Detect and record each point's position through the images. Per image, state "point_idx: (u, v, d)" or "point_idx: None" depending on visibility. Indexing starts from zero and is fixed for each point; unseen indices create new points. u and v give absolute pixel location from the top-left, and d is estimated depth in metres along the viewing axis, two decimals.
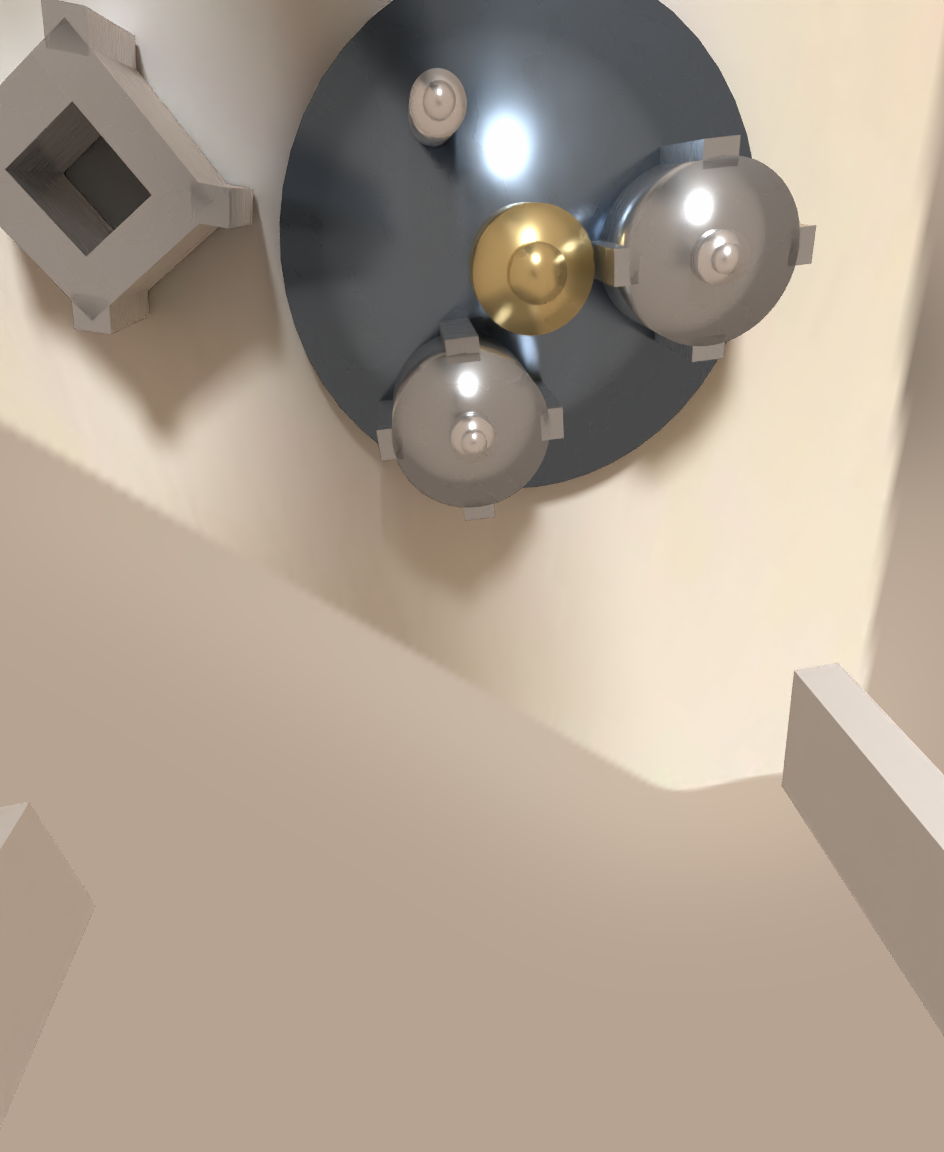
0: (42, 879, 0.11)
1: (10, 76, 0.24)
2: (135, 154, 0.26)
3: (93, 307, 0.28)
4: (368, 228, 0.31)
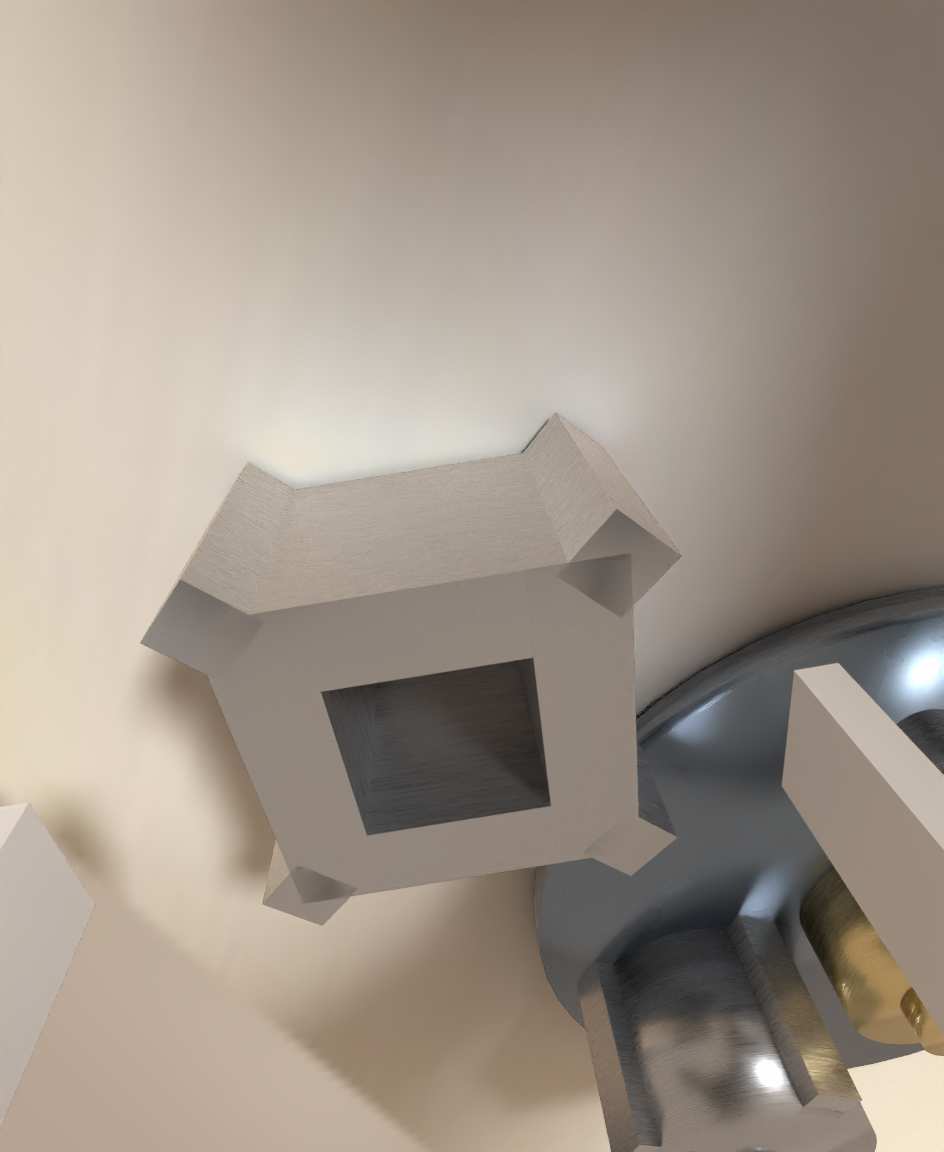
0: (42, 879, 0.11)
1: (452, 585, 0.11)
2: (573, 754, 0.13)
3: (321, 891, 0.14)
4: (742, 807, 0.19)
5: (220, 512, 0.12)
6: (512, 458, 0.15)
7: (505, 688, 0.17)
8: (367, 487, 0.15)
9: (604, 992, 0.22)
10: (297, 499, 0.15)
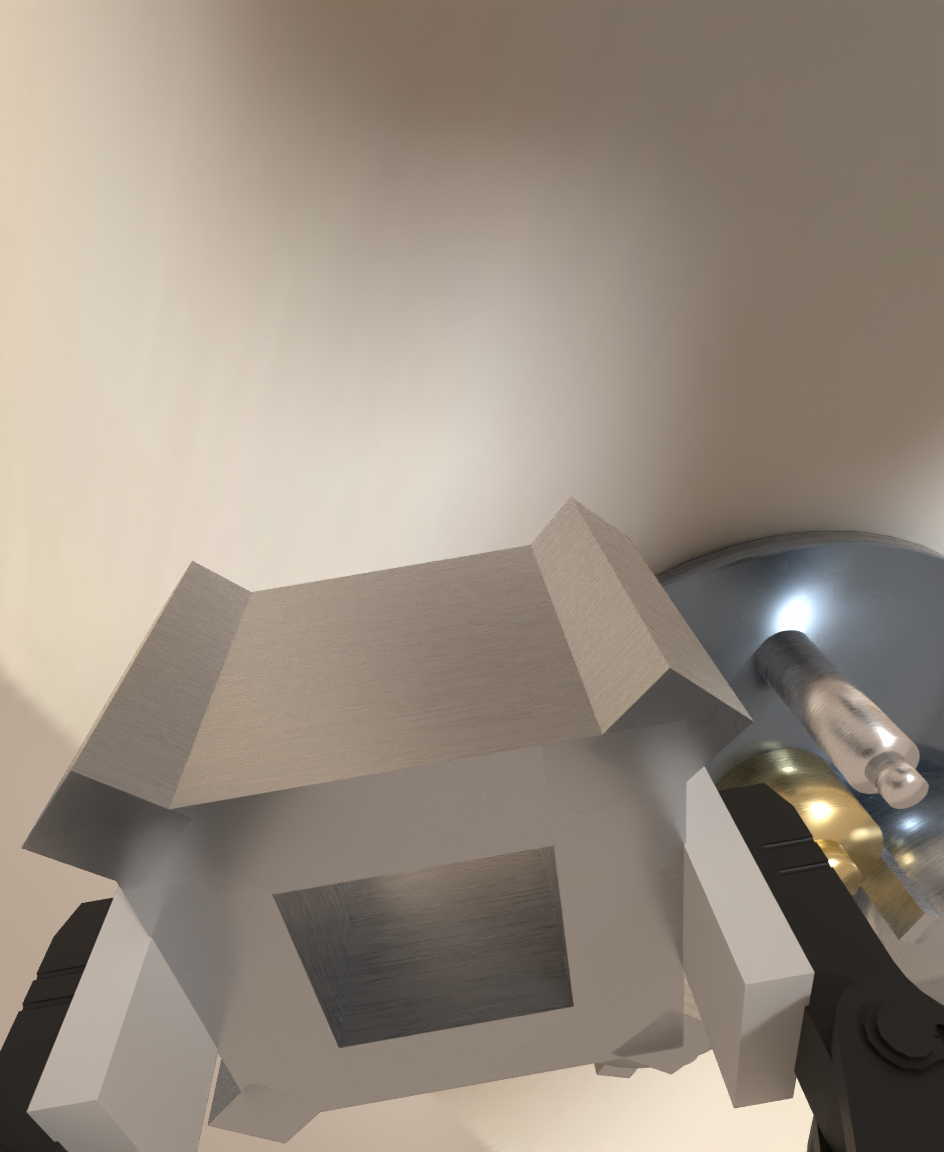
0: None
1: (447, 766, 0.08)
2: (604, 951, 0.10)
3: (282, 1108, 0.11)
4: None
5: (145, 645, 0.10)
6: (518, 553, 0.12)
7: None
8: (340, 591, 0.12)
9: None
10: (253, 608, 0.12)
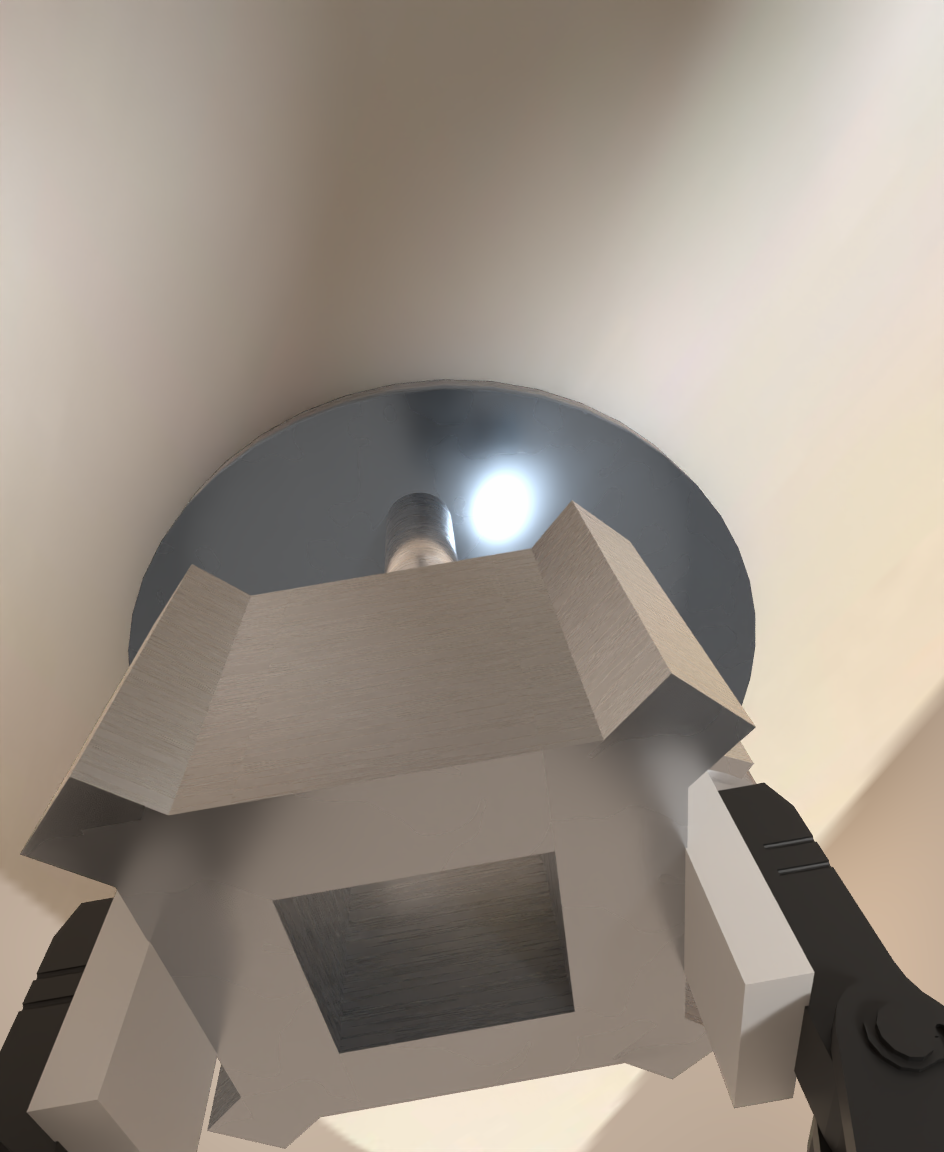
0: None
1: (447, 772, 0.08)
2: (605, 956, 0.10)
3: (282, 1113, 0.11)
4: None
5: (145, 649, 0.10)
6: (519, 556, 0.12)
7: None
8: (340, 595, 0.12)
9: None
10: (253, 611, 0.12)
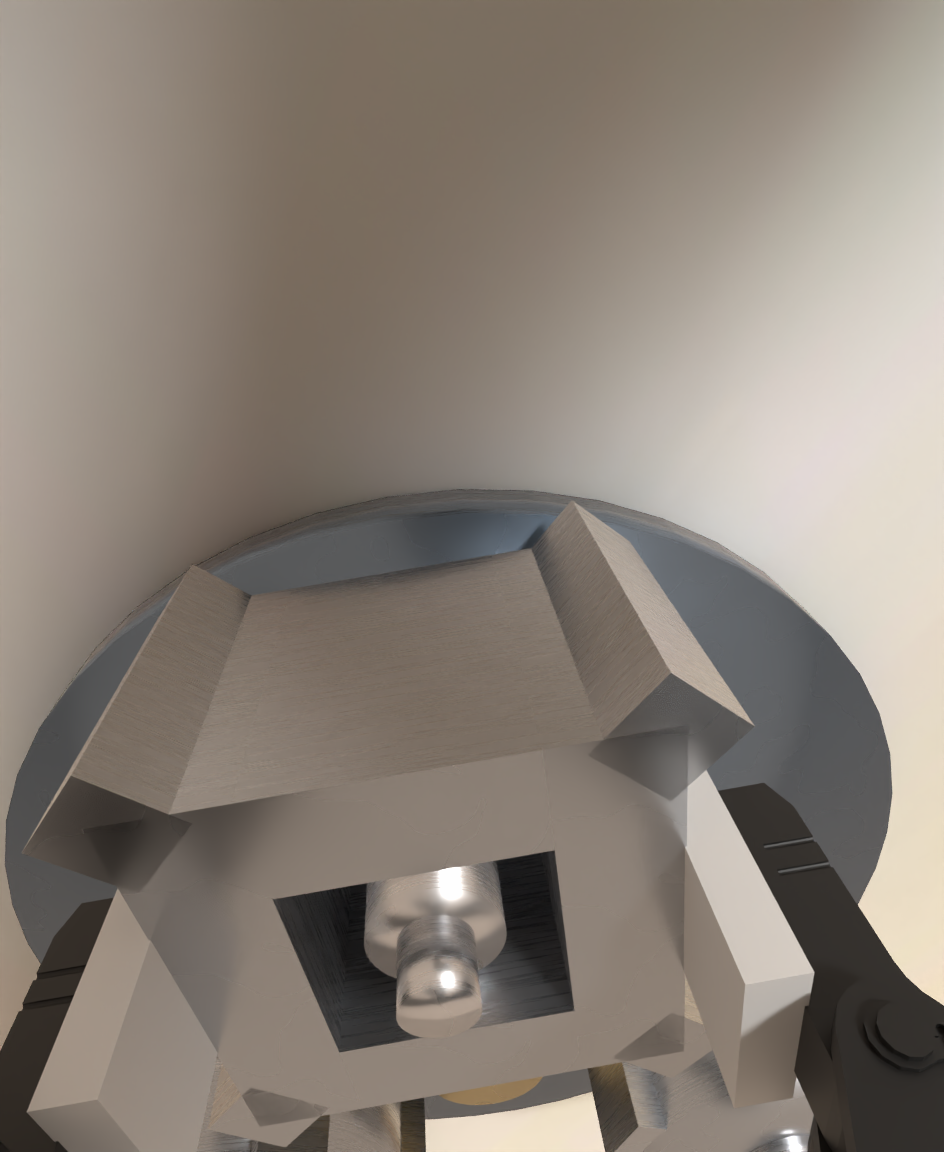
0: None
1: (447, 771, 0.08)
2: (604, 955, 0.10)
3: (282, 1112, 0.11)
4: None
5: (145, 649, 0.10)
6: (518, 556, 0.12)
7: None
8: (340, 595, 0.12)
9: None
10: (254, 611, 0.12)
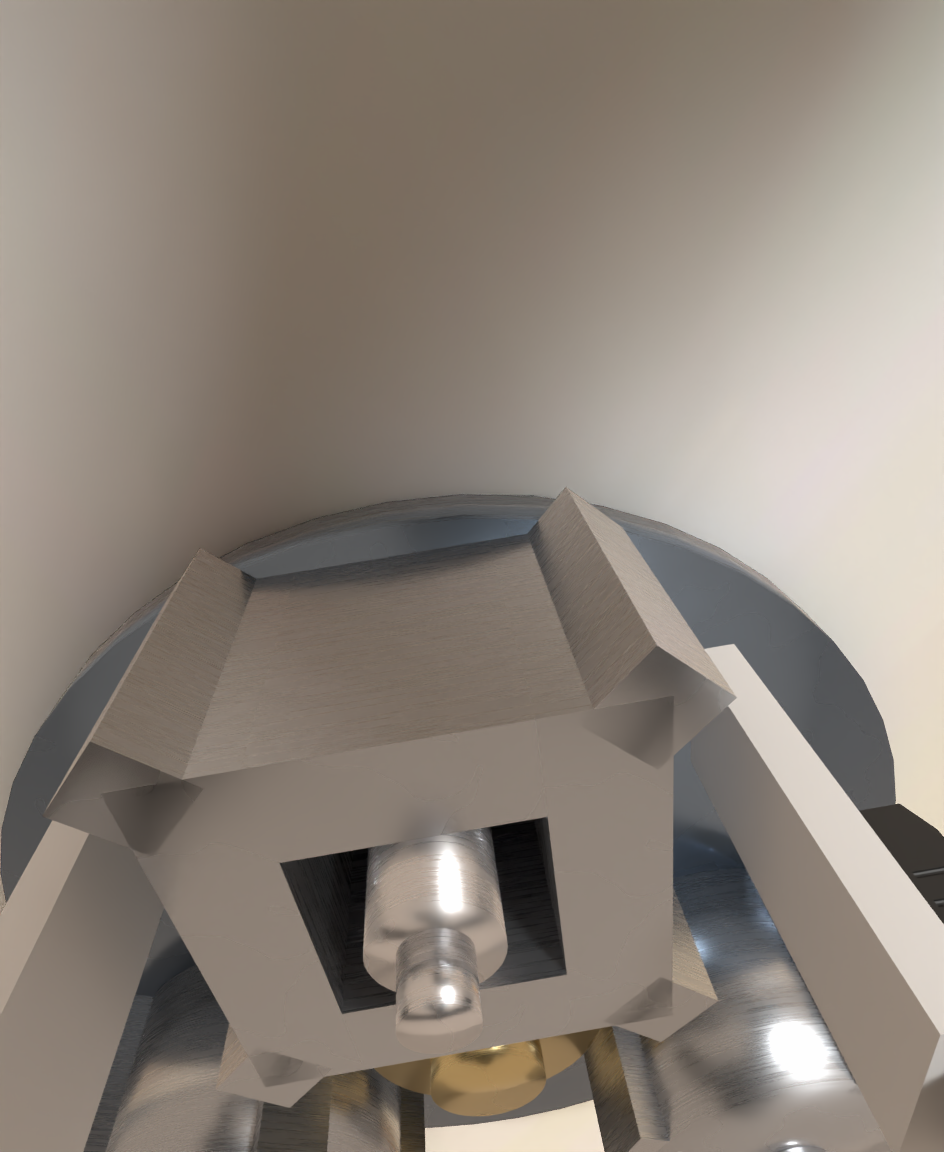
0: None
1: (445, 739, 0.08)
2: (595, 919, 0.10)
3: (287, 1073, 0.12)
4: None
5: (157, 626, 0.10)
6: (515, 541, 0.13)
7: None
8: (342, 578, 0.12)
9: None
10: (259, 593, 0.12)
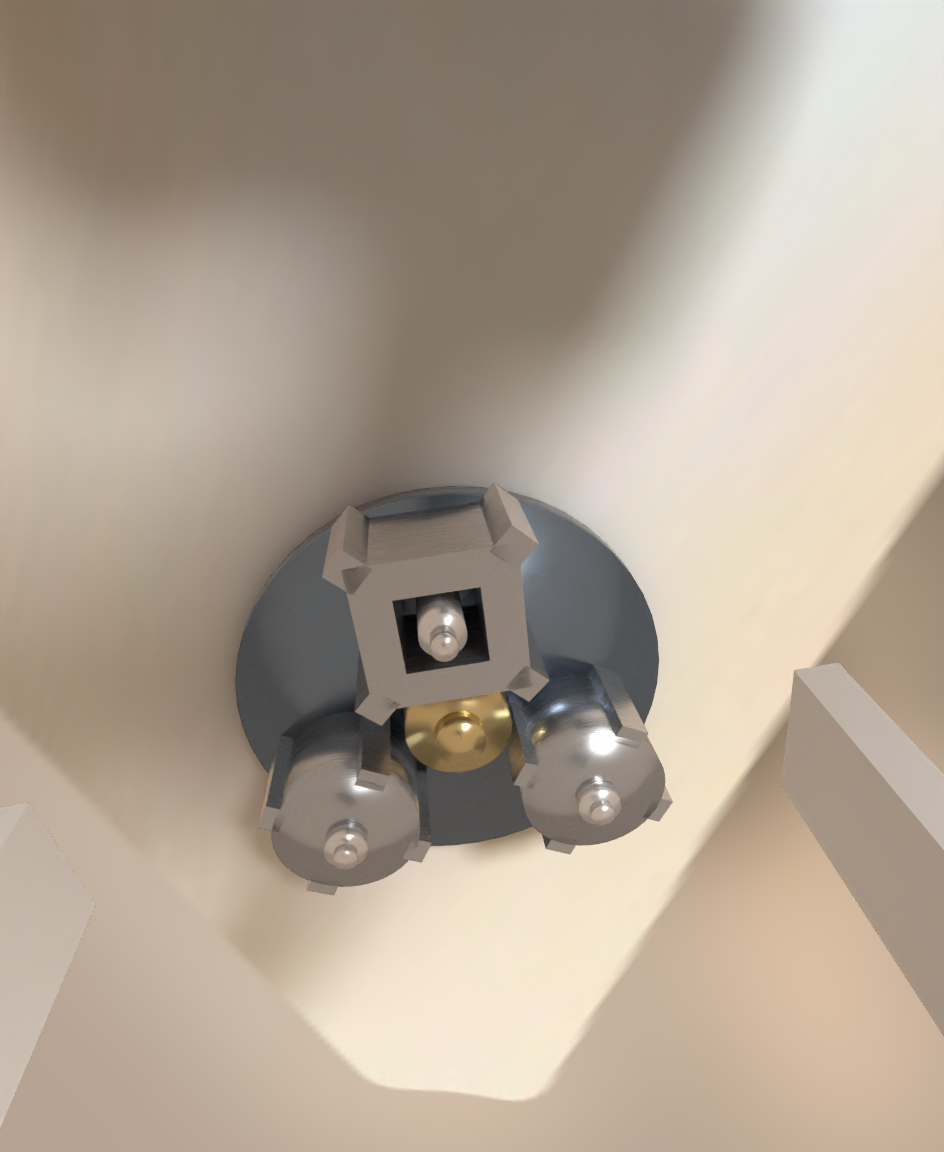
0: (42, 879, 0.11)
1: (448, 554, 0.27)
2: (499, 634, 0.29)
3: (382, 705, 0.30)
4: (342, 620, 0.34)
5: (346, 526, 0.29)
6: (473, 504, 0.31)
7: (470, 619, 0.33)
8: (405, 516, 0.31)
9: (279, 748, 0.35)
10: (372, 522, 0.31)
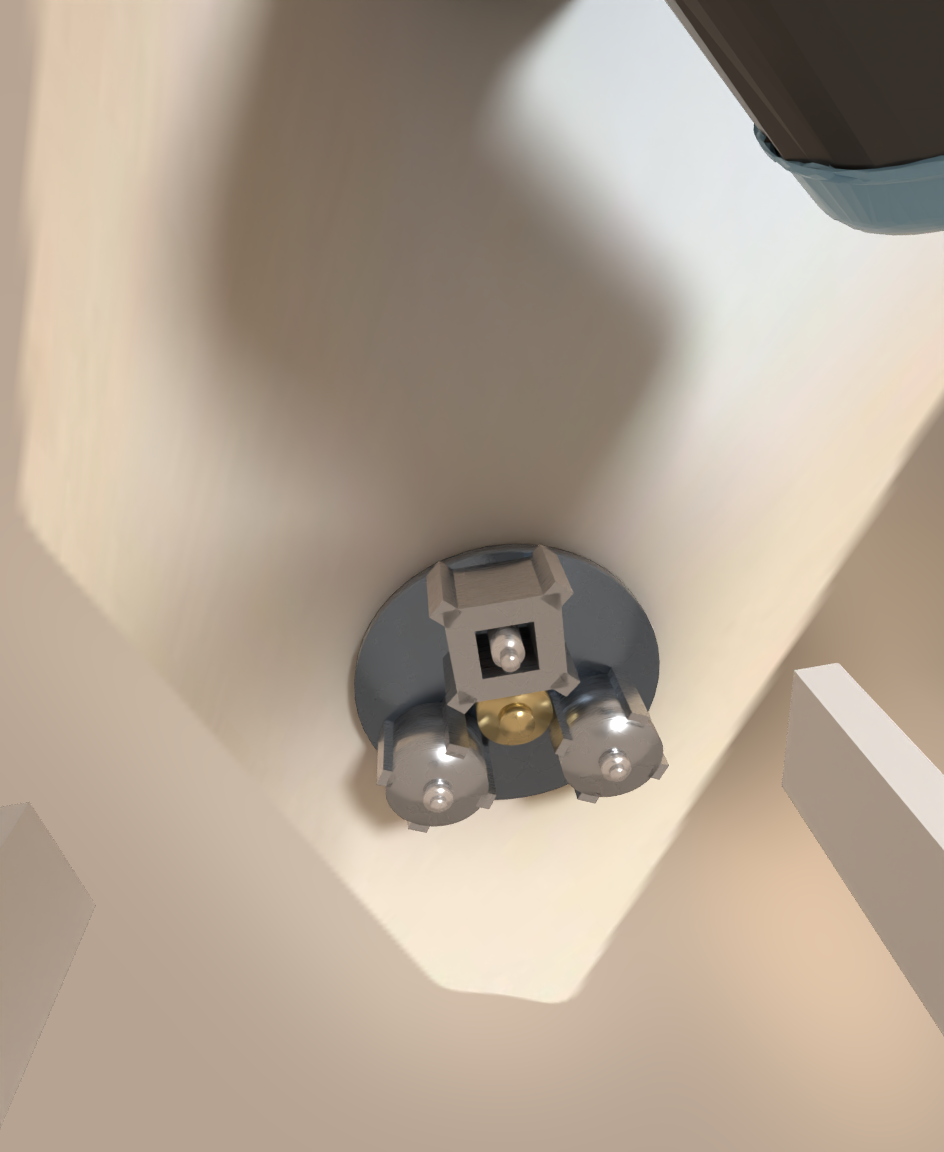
0: (42, 879, 0.11)
1: (512, 601, 0.40)
2: (546, 652, 0.42)
3: (465, 700, 0.44)
4: (431, 639, 0.47)
5: (441, 580, 0.42)
6: (526, 558, 0.45)
7: (523, 637, 0.46)
8: (478, 569, 0.44)
9: (385, 729, 0.49)
10: (455, 573, 0.44)
